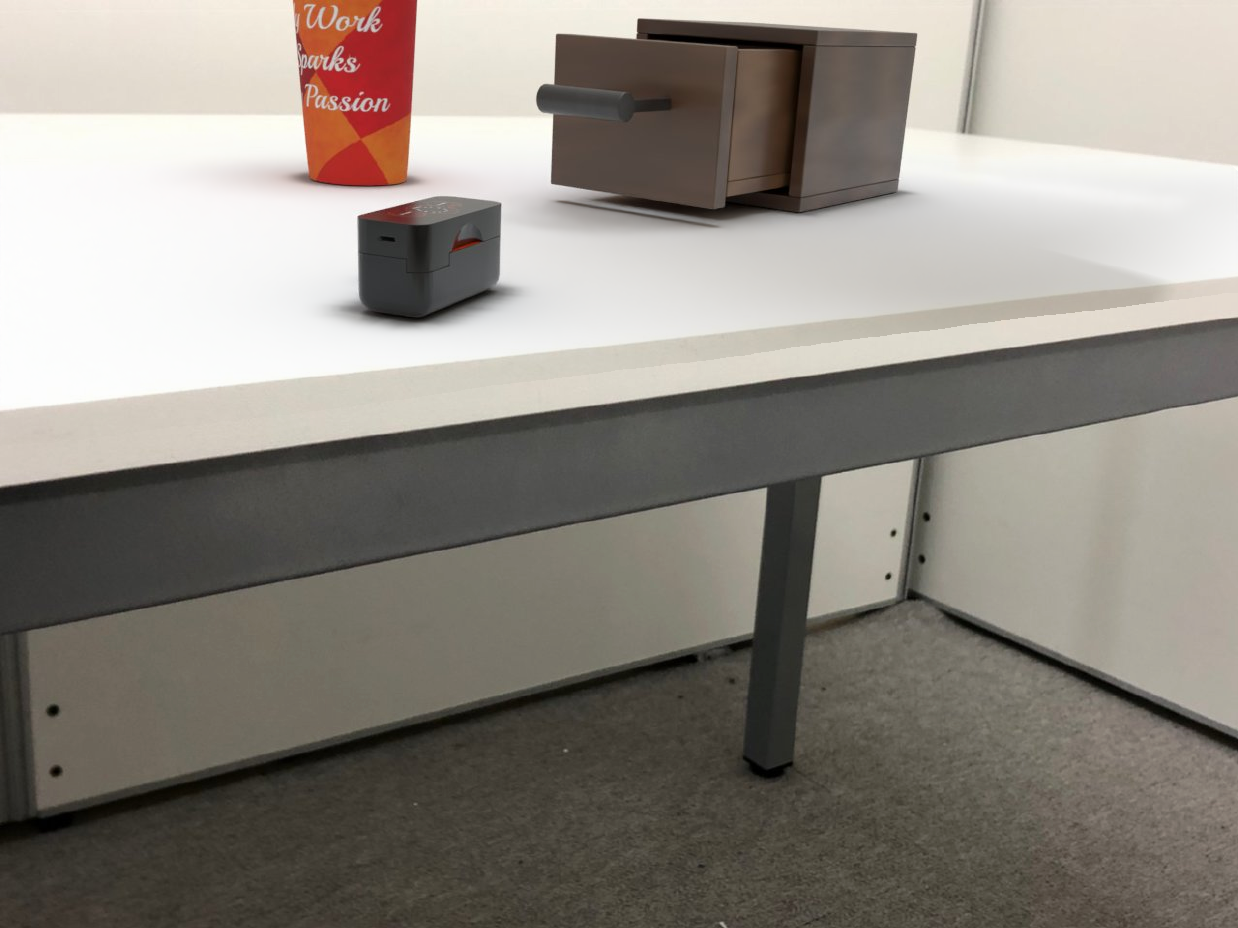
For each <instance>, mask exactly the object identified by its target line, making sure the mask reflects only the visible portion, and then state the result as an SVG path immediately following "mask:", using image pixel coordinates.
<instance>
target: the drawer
mask: <svg viewBox="0 0 1238 928" xmlns="http://www.w3.org/2000/svg"><path fill="white" fill-rule="evenodd" d="M554 50H555V51H554V77H553V78H554V81H553V82H554V83H543V84H542V85H540V86H539V88H538V90H537V92H536V96H535V102H536V107H537V109H538V110H539V111H540V113H543V114H549V115H552V133H551V135H552V139H551V163H550V164H551V165H550V184H551V185H554V186H560V187H561V186H562V187H568V188H575V189H580V190H586V191H587V190H588V191H592V192H593V191H594V192H600V193H607V194H612V195H620V196H625V197H632V198H637V199H638V198H639V199H643V200H645V199H646V200H652V201H657V202H664V203H670V204H678V205H683V206H689V207H696V208H703V209H710V210H716V209H721V208H725V207H726V201H725V199H726V197H729V196H735V195H740V194H746V193H752V192H758V191H763V190H769V189H775V188H781V187H786V186H790V177H791V166H792V156H793V146H794V136H795V126H796V116H797V105H798V95H799V85H800V75H801V65H802V55H803V48H790V47H776V46H763V45H749V44H736V43H722V42H709V41H695V40H645V39H636V38H630V37H617V36H604V35H590V34H579V33H578V34H577V33H556V34H555V49H554Z"/></svg>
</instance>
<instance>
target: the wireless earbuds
mask: <svg viewBox="0 0 1238 928" xmlns="http://www.w3.org/2000/svg"><path fill="white" fill-rule="evenodd" d="M356 218H357V219H356V220H357V225H356V227H357V276H358V277H357V278H358V281H357V283H358V284H357V285H358V298H359V301H360V303H361V304H362V306H363V307H364V308H366V310H368V311H372V312H374V313H381V314H385V315H386V314H387V315H393V316H401V317H407V318H423V317H425V316H427V315H430V314H433V313H435V312H438V311H440V310H442V309H445V308H448V307H449V306H452V305H454V304H456V303H459V302H461V301H464V300H467V299H469V298H471V297H473V296H476V295H478V294H481V293H483V292H486V291H488V290H490V289H492V288H494V287H495V286H496V285H497V284H498V282H499V281H500V276H501V239H502V235H501V234H502V202H499V201H495V200H487V199H479V198H470V197H461V196H452V195H451V196H450V195H437V196H436V195H435V196H430V197H428V198H424V199H419V200H415V201H411V202H406V203H403V204H399V205H395V206H390V207H387V208H383V209H378V210H374V211H370V212H367V213H366V212H365V213H363V214H359V215H357V217H356Z"/></svg>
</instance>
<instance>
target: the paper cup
mask: <svg viewBox="0 0 1238 928" xmlns="http://www.w3.org/2000/svg"><path fill="white" fill-rule="evenodd" d="M292 7H293V18H294V30H295V41H296V54H297V64H298V75H299V76H298V77H299V87H300V99H301V108H302V120H303V121H302V122H303V130H304V141H305V153H306V161H307V169H308V175H309V179H310V180H313V181H315V182H318V183H319V182H320V183H325V184H332V185H343V186H365V187H366V186H389V185H397V184H402V183H405V182H407V179H408V178H407V177H408V169H409V158H410V157H409V156H410V143H411V141H410V140H411V128H412V127H411V126H412V111H413V109H412V107H413V91H414V90H413V89H414V73H415V72H414V70H415V54H416V53H415V51H416V36H417V35H416V32H417V13H418V12H417V11H418V0H292Z"/></svg>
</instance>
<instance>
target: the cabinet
mask: <svg viewBox="0 0 1238 928" xmlns="http://www.w3.org/2000/svg"><path fill="white" fill-rule="evenodd" d="M635 39H645V40H695V41H709V42H722V43H736V44H749V45H763V46H776V47H790V48H803V55H802V65H801V75H800V85H799V95H798V105H797V116H796V126H795V136H794V146H793V156H792V166H791V177H790V186H786V187H781V188H775V189H769V190H763V191H758V192H752V193H746V194H740V195H735V196H729V197H726V199H725V203H726V202H727V203H733V204H740V205H745V206H746V205H748V206H752V207H759V208H766V209H774V210H779V211H785V212H786V211H787V212H793V213H804V212H807V211H812V210H813V211H814V210H817V209H822V208H826V207H831V206H836V205H841V204H845V203H851V202H855V201H861V200H865V199H869V198H873V197H879V196H883V195H887V194H892V193H898V191H899V182H900V174H901V167H902V159H903V150H904V142H905V135H906V128H907V119H908V111H909V105H910V104H909V103H910V97H911V96H910V95H911V90H912V89H911V87H912V79H913V72H914V66H915V65H914V64H915V58H916V49H917V48H916V46H917V41H918V33H917V32H908V31H907V32H905V31H893V30H892V31H890V30H887V31H886V30H877V29H876V30H874V29H860V28H859V29H858V28H845V27H844V28H843V27H830V26H829V27H827V26H826V27H825V26H824V27H823V26H813V25H812V26H811V25H796V24H780V23H765V22H746V21H719V20H695V19H694V20H693V19H672V18H671V19H669V18H643V17H641V18H637V20H636V37H635Z"/></svg>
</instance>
